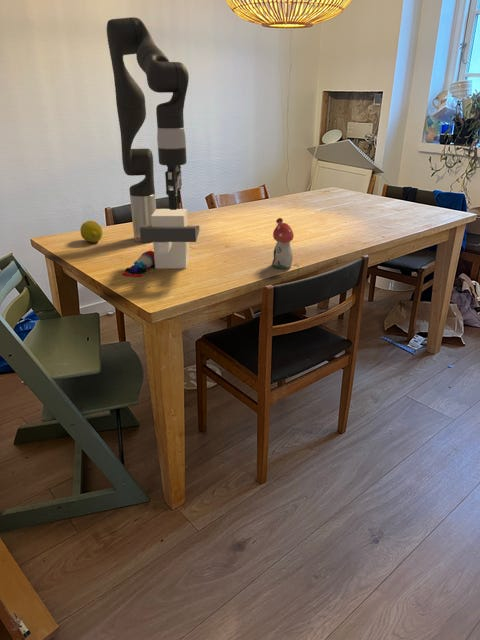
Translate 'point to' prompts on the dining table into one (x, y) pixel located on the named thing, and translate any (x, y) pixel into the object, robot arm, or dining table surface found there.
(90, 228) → the lemon
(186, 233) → the grey u-shaped bracket
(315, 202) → the dining table surface
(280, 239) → the decorative ornament
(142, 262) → the toy figure
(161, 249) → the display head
